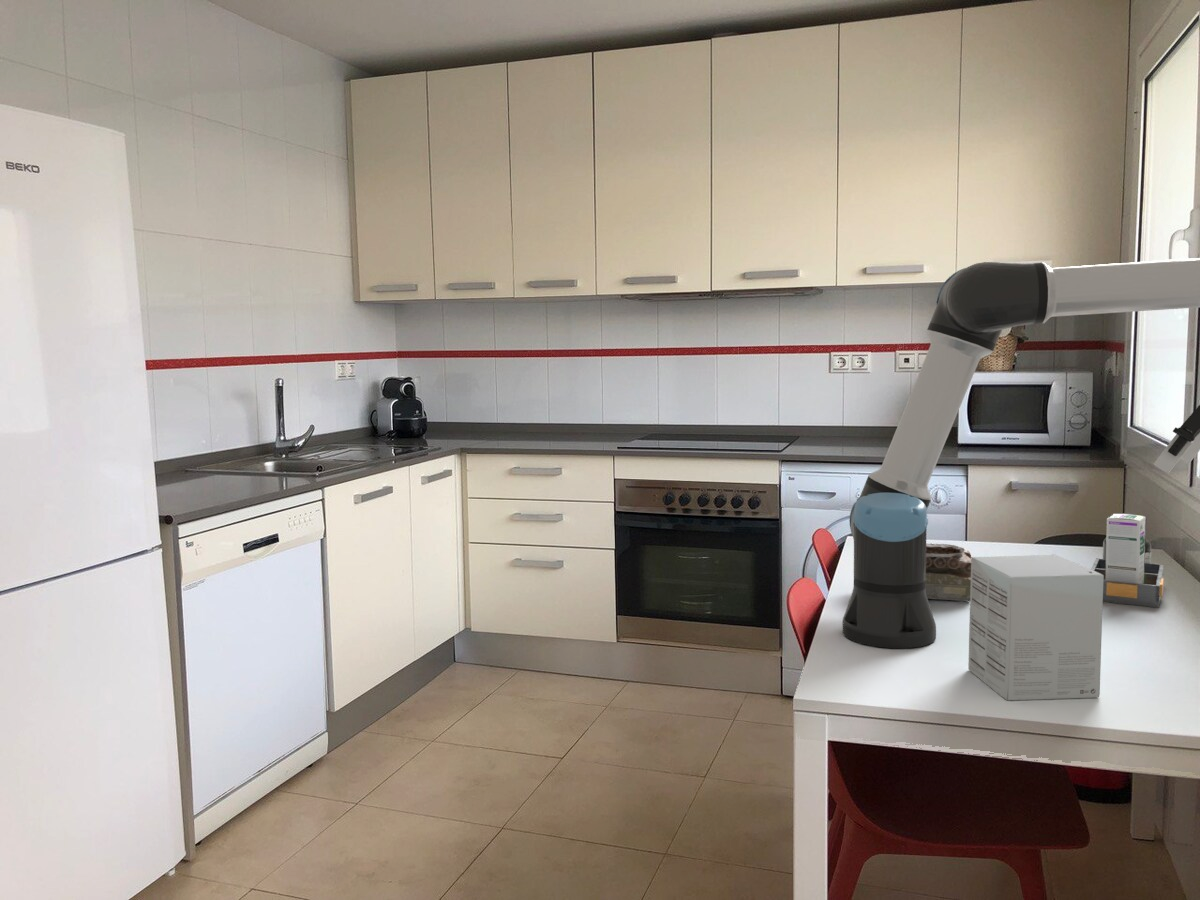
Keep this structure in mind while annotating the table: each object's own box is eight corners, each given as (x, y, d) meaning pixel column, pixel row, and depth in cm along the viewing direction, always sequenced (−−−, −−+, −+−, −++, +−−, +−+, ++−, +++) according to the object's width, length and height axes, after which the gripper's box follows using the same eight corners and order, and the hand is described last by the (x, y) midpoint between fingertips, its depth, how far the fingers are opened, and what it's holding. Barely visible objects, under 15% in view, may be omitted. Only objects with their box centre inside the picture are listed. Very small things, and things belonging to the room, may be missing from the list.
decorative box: (976, 611, 173) (977, 559, 172) (863, 602, 181) (864, 552, 180) (977, 594, 185) (978, 545, 184) (872, 586, 193) (872, 539, 192)
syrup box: (1138, 596, 177) (1141, 519, 175) (1103, 592, 181) (1106, 516, 179) (1144, 590, 181) (1147, 515, 180) (1109, 585, 185) (1112, 512, 183)
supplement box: (1052, 666, 143) (1056, 553, 142) (1101, 698, 130) (1106, 574, 128) (966, 669, 143) (968, 555, 141) (1006, 701, 130) (1009, 576, 128)
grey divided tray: (1161, 608, 173) (1162, 587, 173) (1085, 600, 180) (1085, 579, 179) (1165, 584, 190) (1166, 564, 190) (1095, 577, 197) (1096, 558, 196)
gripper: (1258, 378, 147) (1172, 486, 157) (1288, 368, 165) (1209, 466, 175) (1211, 353, 151) (1130, 460, 161) (1245, 346, 169) (1171, 443, 179)
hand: (1171, 463), depth 168 cm, fingers open, 13 cm apart
